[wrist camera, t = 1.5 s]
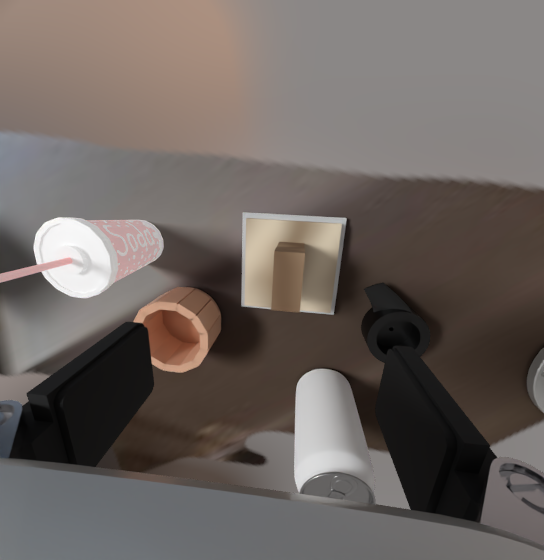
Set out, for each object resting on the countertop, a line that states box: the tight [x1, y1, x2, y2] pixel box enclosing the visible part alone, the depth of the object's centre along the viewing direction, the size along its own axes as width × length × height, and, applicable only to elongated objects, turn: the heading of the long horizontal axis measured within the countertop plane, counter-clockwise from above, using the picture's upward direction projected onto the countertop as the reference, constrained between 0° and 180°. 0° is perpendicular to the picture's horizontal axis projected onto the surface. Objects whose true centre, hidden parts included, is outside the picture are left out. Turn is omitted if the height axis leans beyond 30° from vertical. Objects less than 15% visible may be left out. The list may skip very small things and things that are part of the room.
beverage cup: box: [0, 217, 164, 298], centre depth 21 cm, size 6×6×14 cm
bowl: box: [134, 287, 221, 373], centre depth 27 cm, size 8×8×5 cm
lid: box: [244, 218, 342, 313], centre depth 23 cm, size 9×9×6 cm
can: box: [294, 369, 375, 504], centre depth 25 cm, size 6×6×12 cm
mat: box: [241, 212, 347, 315], centre depth 26 cm, size 10×10×1 cm
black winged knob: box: [361, 283, 430, 363], centre depth 26 cm, size 8×10×3 cm
